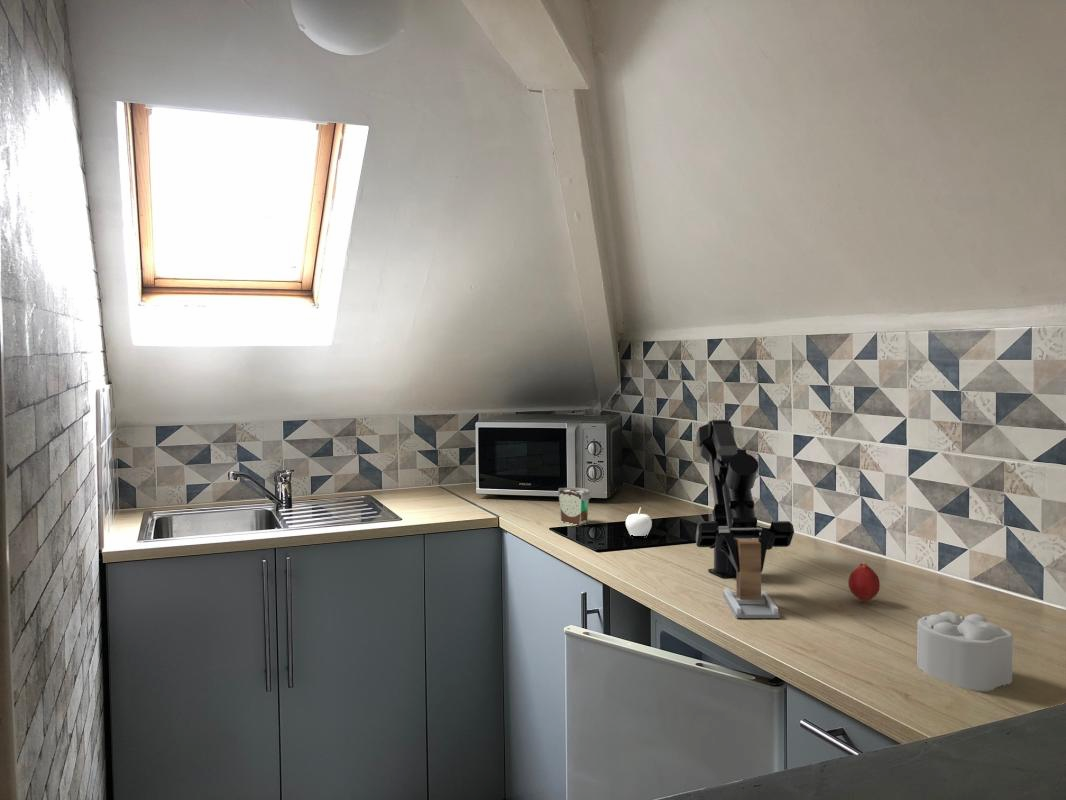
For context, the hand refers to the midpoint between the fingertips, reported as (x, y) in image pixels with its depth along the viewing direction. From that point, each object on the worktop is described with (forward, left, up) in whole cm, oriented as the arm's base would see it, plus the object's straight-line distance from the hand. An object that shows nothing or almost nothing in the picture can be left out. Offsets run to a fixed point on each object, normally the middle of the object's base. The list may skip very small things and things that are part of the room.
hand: (749, 571), depth 166 cm
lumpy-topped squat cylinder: (+41, +10, -7) cm, 43 cm away
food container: (-91, +1, -7) cm, 91 cm away
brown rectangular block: (-1, +1, -7) cm, 7 cm away
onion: (+5, +23, -7) cm, 24 cm away
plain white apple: (-67, +9, -7) cm, 68 cm away
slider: (0, 0, -7) cm, 7 cm away
